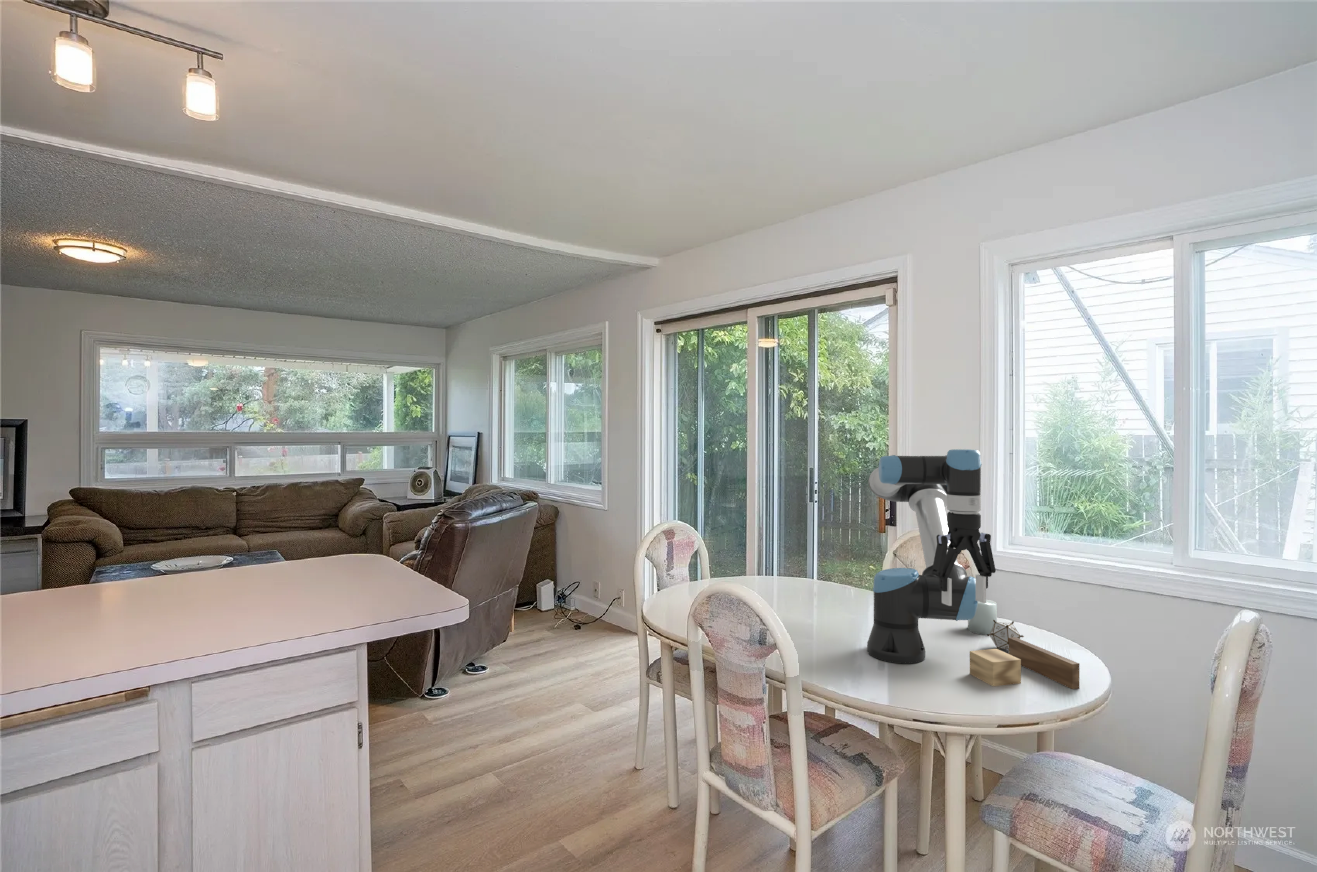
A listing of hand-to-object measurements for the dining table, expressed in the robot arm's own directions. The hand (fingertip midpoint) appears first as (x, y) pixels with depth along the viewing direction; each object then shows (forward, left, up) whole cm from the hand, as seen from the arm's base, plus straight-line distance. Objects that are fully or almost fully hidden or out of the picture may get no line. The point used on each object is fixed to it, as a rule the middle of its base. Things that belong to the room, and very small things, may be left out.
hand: (963, 602), depth 156 cm
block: (+9, 0, -20) cm, 22 cm away
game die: (+27, +17, -20) cm, 37 cm away
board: (+23, 0, -19) cm, 30 cm away
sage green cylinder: (+33, +33, -20) cm, 51 cm away
